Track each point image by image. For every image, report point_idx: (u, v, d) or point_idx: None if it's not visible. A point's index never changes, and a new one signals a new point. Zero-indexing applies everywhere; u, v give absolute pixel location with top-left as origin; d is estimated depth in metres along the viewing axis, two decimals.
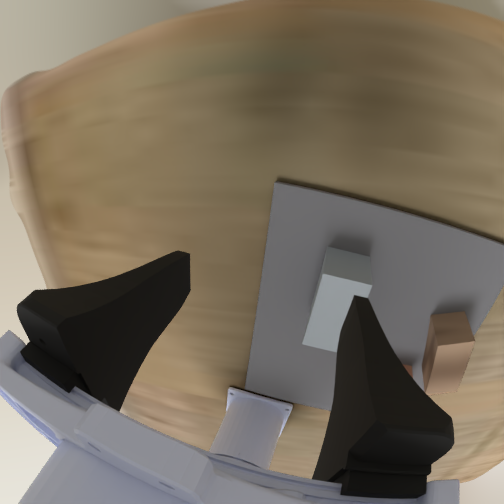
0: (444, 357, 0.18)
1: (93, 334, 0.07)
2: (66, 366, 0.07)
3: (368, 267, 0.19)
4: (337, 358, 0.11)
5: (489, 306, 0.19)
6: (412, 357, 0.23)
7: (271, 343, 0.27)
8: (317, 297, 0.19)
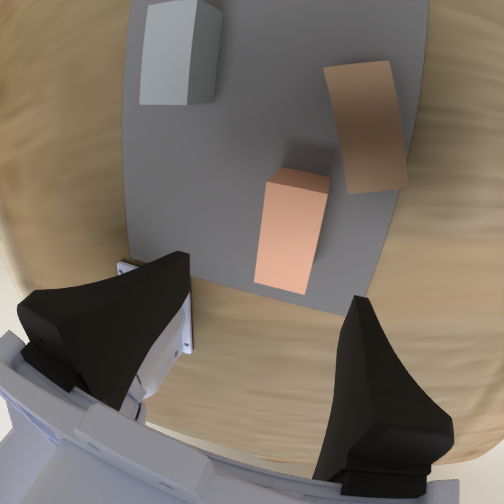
0: (346, 93, 0.12)
1: (93, 334, 0.07)
2: (66, 366, 0.07)
3: (209, 6, 0.13)
4: (337, 358, 0.11)
5: (419, 64, 0.13)
6: (326, 159, 0.17)
7: (141, 162, 0.21)
8: (145, 32, 0.13)
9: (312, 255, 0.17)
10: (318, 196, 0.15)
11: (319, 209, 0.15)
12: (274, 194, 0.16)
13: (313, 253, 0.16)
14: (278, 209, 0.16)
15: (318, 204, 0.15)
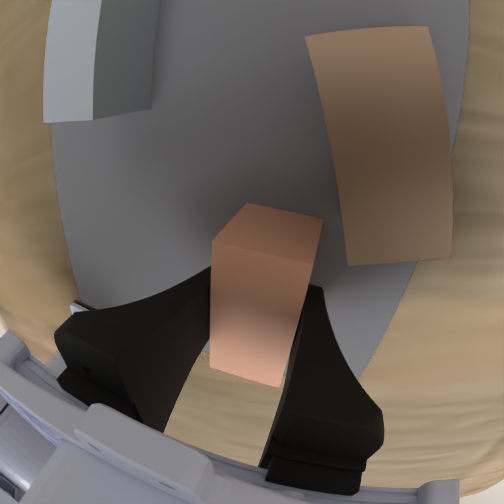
0: (350, 82, 0.06)
1: (148, 360, 0.07)
2: (116, 395, 0.07)
3: None
4: (291, 347, 0.12)
5: (462, 45, 0.07)
6: (316, 191, 0.11)
7: (74, 192, 0.15)
8: (49, 21, 0.07)
9: (288, 346, 0.11)
10: (298, 268, 0.09)
11: (298, 287, 0.09)
12: (226, 261, 0.10)
13: (290, 344, 0.11)
14: (233, 283, 0.10)
15: (298, 280, 0.09)
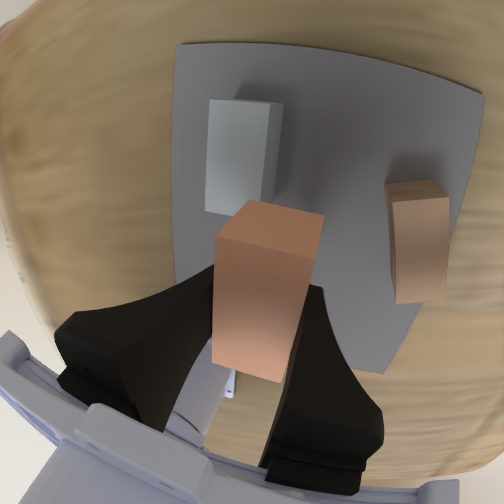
0: (408, 226, 0.14)
1: (148, 360, 0.07)
2: (116, 395, 0.07)
3: (275, 103, 0.15)
4: None
5: (466, 174, 0.15)
6: (374, 258, 0.19)
7: (193, 245, 0.23)
8: (209, 133, 0.15)
9: (291, 341, 0.11)
10: (300, 262, 0.09)
11: (301, 281, 0.09)
12: (230, 256, 0.10)
13: (292, 338, 0.11)
14: (236, 278, 0.10)
15: (300, 274, 0.09)
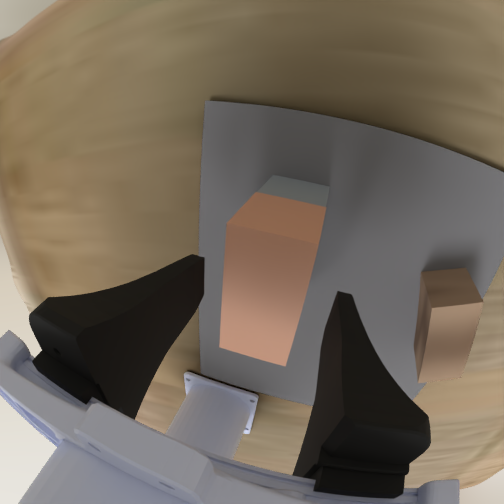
0: (442, 326, 0.14)
1: (111, 343, 0.07)
2: (83, 376, 0.07)
3: (324, 194, 0.14)
4: (320, 354, 0.11)
5: (497, 262, 0.14)
6: (400, 334, 0.19)
7: None
8: None
9: (295, 323, 0.12)
10: (305, 247, 0.10)
11: (305, 265, 0.10)
12: (239, 242, 0.11)
13: (297, 321, 0.12)
14: (245, 263, 0.11)
15: (305, 258, 0.10)
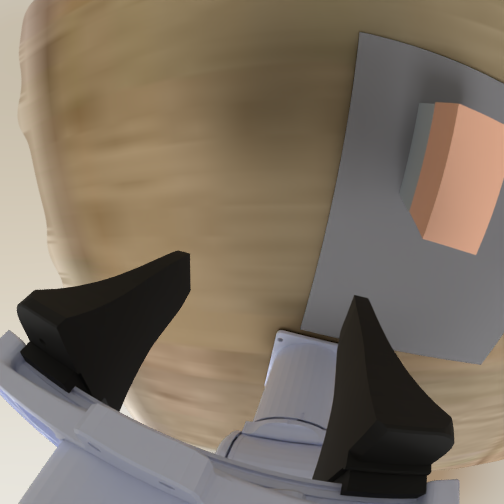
0: None
1: (93, 334, 0.07)
2: (66, 366, 0.07)
3: None
4: (337, 358, 0.11)
5: None
6: (502, 261, 0.17)
7: (348, 246, 0.21)
8: None
9: (494, 202, 0.10)
10: None
11: None
12: (466, 121, 0.09)
13: (495, 200, 0.10)
14: (468, 140, 0.09)
15: None
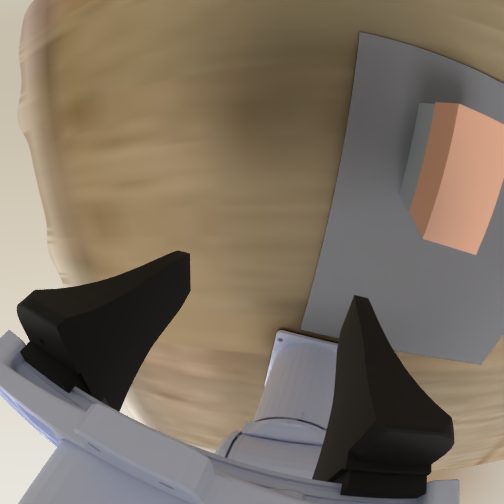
0: None
1: (93, 334, 0.07)
2: (66, 366, 0.07)
3: None
4: (337, 358, 0.11)
5: None
6: (502, 261, 0.17)
7: (348, 246, 0.21)
8: None
9: (494, 203, 0.10)
10: None
11: None
12: (466, 121, 0.09)
13: (495, 200, 0.10)
14: (468, 140, 0.09)
15: None
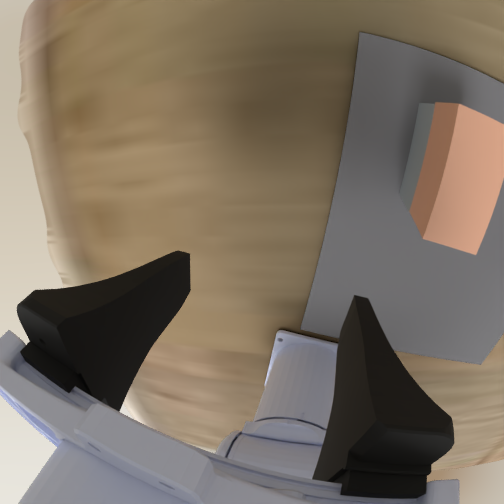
0: None
1: (93, 334, 0.07)
2: (66, 366, 0.07)
3: None
4: (337, 358, 0.11)
5: None
6: (502, 261, 0.17)
7: (348, 246, 0.21)
8: None
9: (494, 203, 0.10)
10: None
11: None
12: (466, 121, 0.09)
13: (495, 200, 0.10)
14: (468, 140, 0.09)
15: None
